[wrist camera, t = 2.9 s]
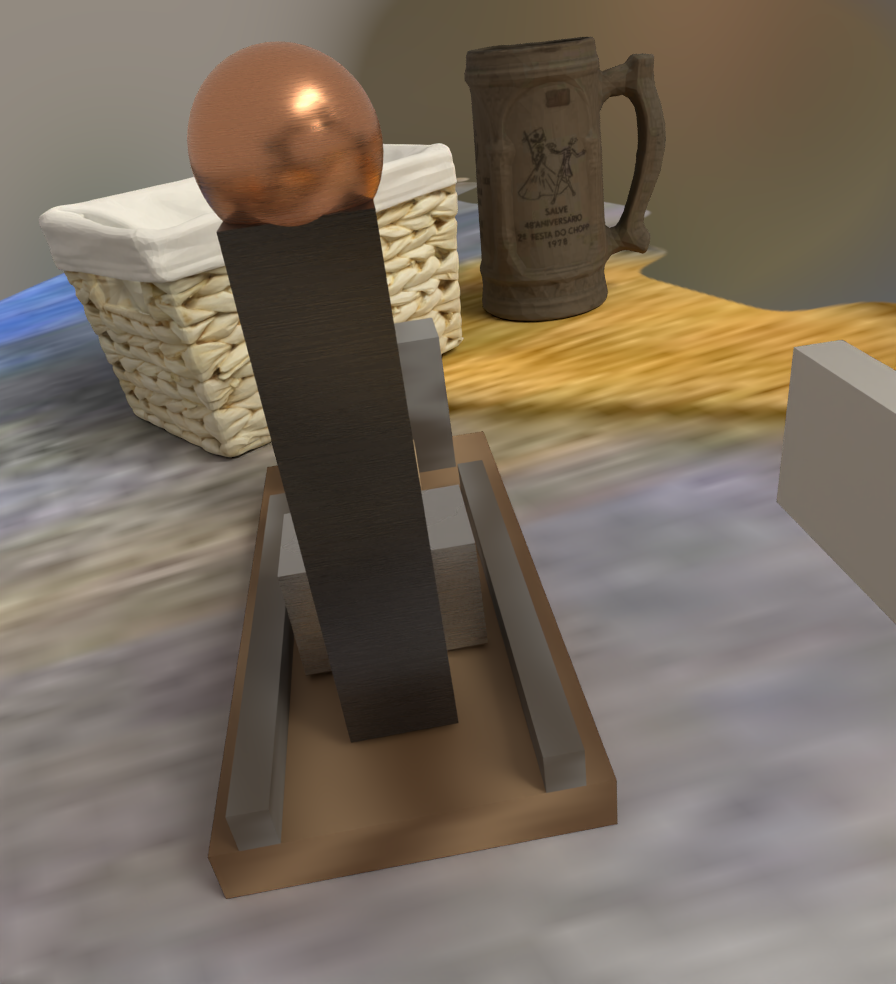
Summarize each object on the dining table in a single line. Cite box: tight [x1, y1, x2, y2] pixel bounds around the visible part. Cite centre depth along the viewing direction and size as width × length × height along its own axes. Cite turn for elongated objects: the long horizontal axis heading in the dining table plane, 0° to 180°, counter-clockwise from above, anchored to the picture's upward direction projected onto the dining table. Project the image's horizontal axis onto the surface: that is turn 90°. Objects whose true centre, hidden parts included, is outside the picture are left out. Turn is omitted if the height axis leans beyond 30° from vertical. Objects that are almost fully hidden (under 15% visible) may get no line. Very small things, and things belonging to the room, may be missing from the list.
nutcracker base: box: [208, 318, 617, 899], centre depth 32 cm, size 12×24×9 cm, turn 7°
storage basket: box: [39, 143, 464, 457], centre depth 56 cm, size 24×16×15 cm
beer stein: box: [465, 37, 666, 321], centre depth 64 cm, size 15×11×20 cm
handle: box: [187, 41, 488, 743], centre depth 24 cm, size 7×8×19 cm
